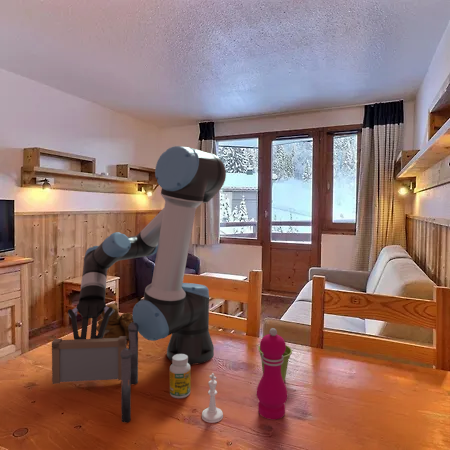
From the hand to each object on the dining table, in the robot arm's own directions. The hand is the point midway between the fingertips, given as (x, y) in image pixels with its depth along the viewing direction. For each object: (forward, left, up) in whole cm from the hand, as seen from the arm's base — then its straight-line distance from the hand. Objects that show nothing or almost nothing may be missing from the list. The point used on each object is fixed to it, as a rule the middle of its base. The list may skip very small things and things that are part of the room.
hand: (85, 365), depth 92 cm
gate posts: (-14, +9, -4) cm, 17 cm away
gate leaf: (-2, +2, -3) cm, 4 cm away
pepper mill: (-48, +16, -5) cm, 51 cm away
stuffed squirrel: (-2, -29, -5) cm, 30 cm away
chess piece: (-34, +17, -5) cm, 39 cm away
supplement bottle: (-26, +7, -5) cm, 27 cm away
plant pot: (-52, +1, -5) cm, 52 cm away
